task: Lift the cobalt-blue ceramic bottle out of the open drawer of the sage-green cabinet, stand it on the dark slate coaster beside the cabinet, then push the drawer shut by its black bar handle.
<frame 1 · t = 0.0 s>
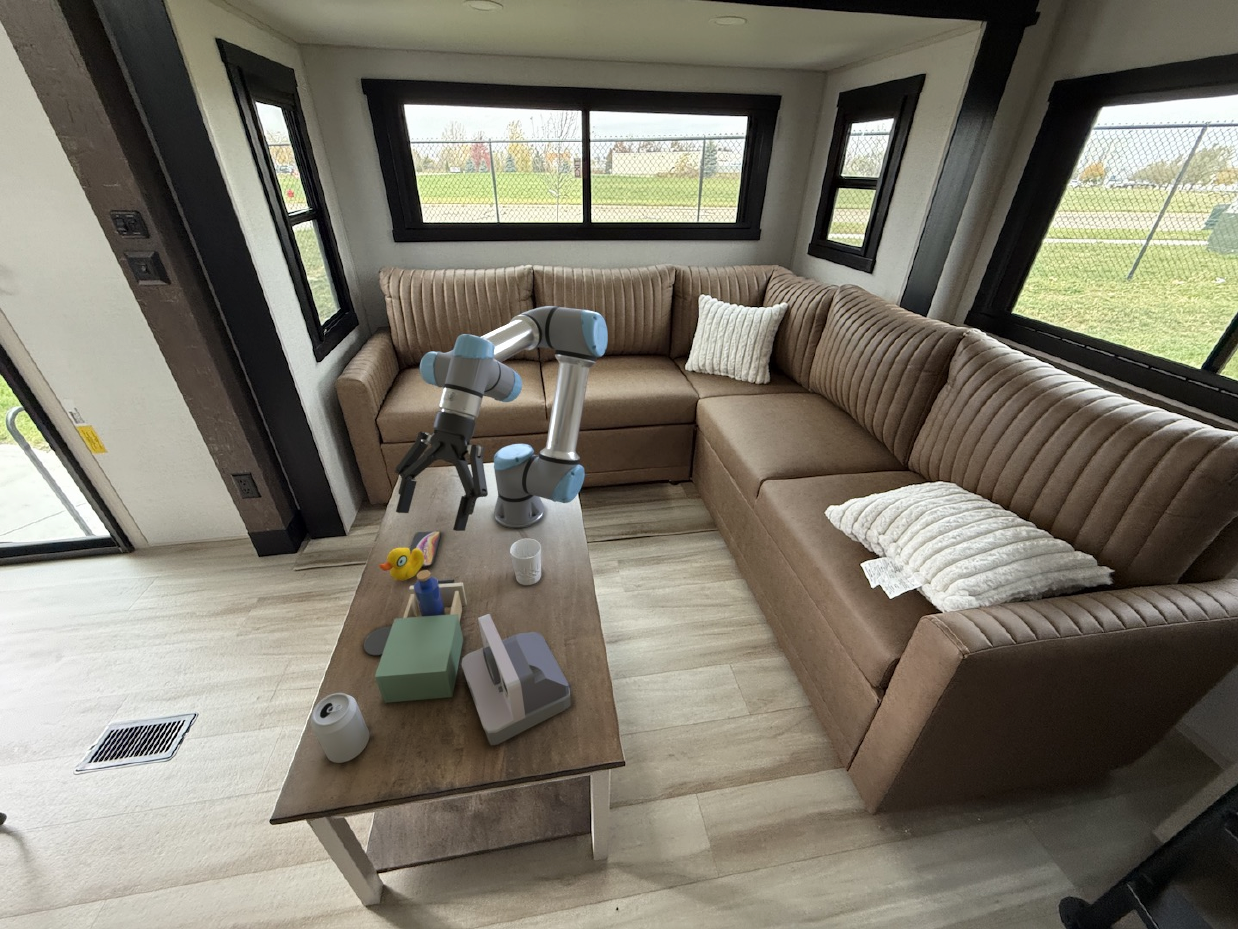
hand: (429, 521, 96), 36 cm above the table, tool tilted 35°, fingers open, 13 cm apart
can: (349, 745, 95), on the table
coaster: (383, 641, 115), on the table
cabinet: (426, 669, 109), on the table
drawer: (435, 608, 118), point 4 cm above the table, slide at 9.5 cm, touching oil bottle
duckling: (408, 576, 133), on the table, touching smartphone
smartphone: (424, 550, 141), on the table, touching duckling
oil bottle: (435, 621, 117), point 2 cm above the table, touching drawer
white cup: (528, 577, 133), on the table
grey stand: (518, 688, 105), on the table
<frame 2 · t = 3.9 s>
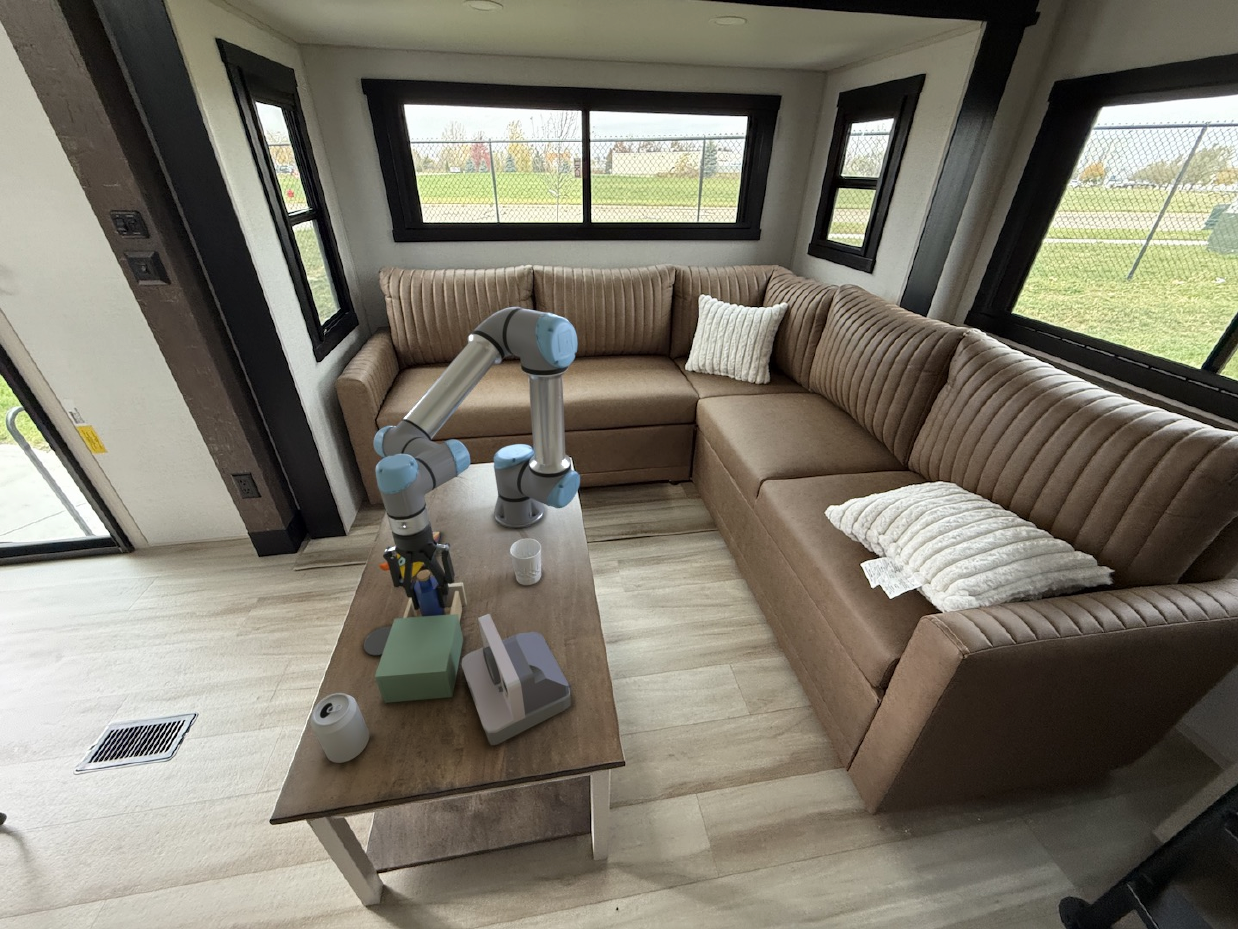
hand: (431, 604, 114), 8 cm above the table, tool pointing down, fingers closed on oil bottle, 5 cm apart
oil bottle: (435, 621, 117), point 2 cm above the table, touching drawer, gripper
everything else where it was.
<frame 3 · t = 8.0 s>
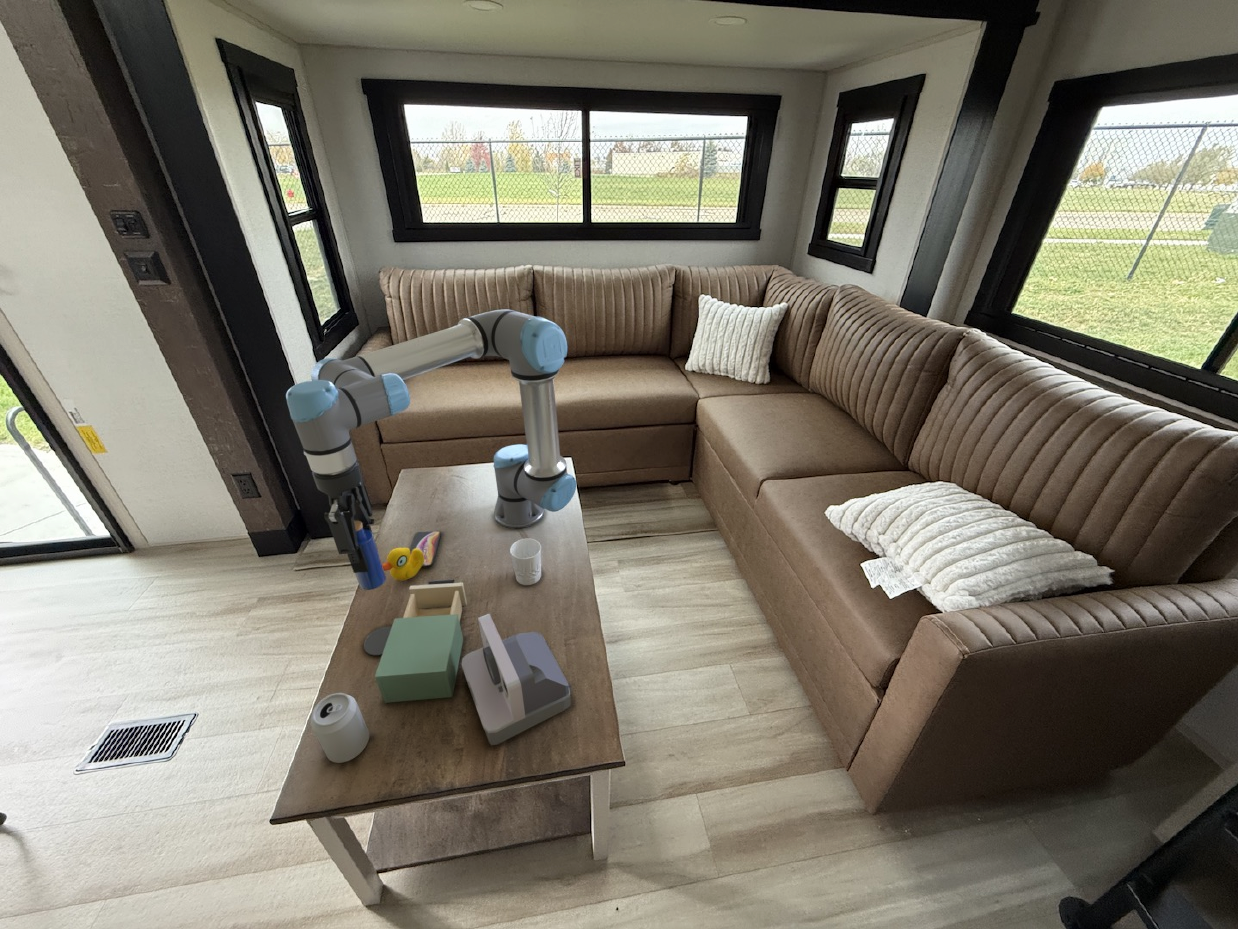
hand: (366, 560, 102), 24 cm above the table, tool pointing down, fingers closed on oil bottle, 5 cm apart
drawer: (435, 608, 118), point 4 cm above the table, slide at 9.5 cm
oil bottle: (372, 581, 105), point 19 cm above the table, touching gripper
everything else where it was.
when the fingers open (6 cm above the table, at t = 12.2 s): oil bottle stays where it is, resting on coaster.
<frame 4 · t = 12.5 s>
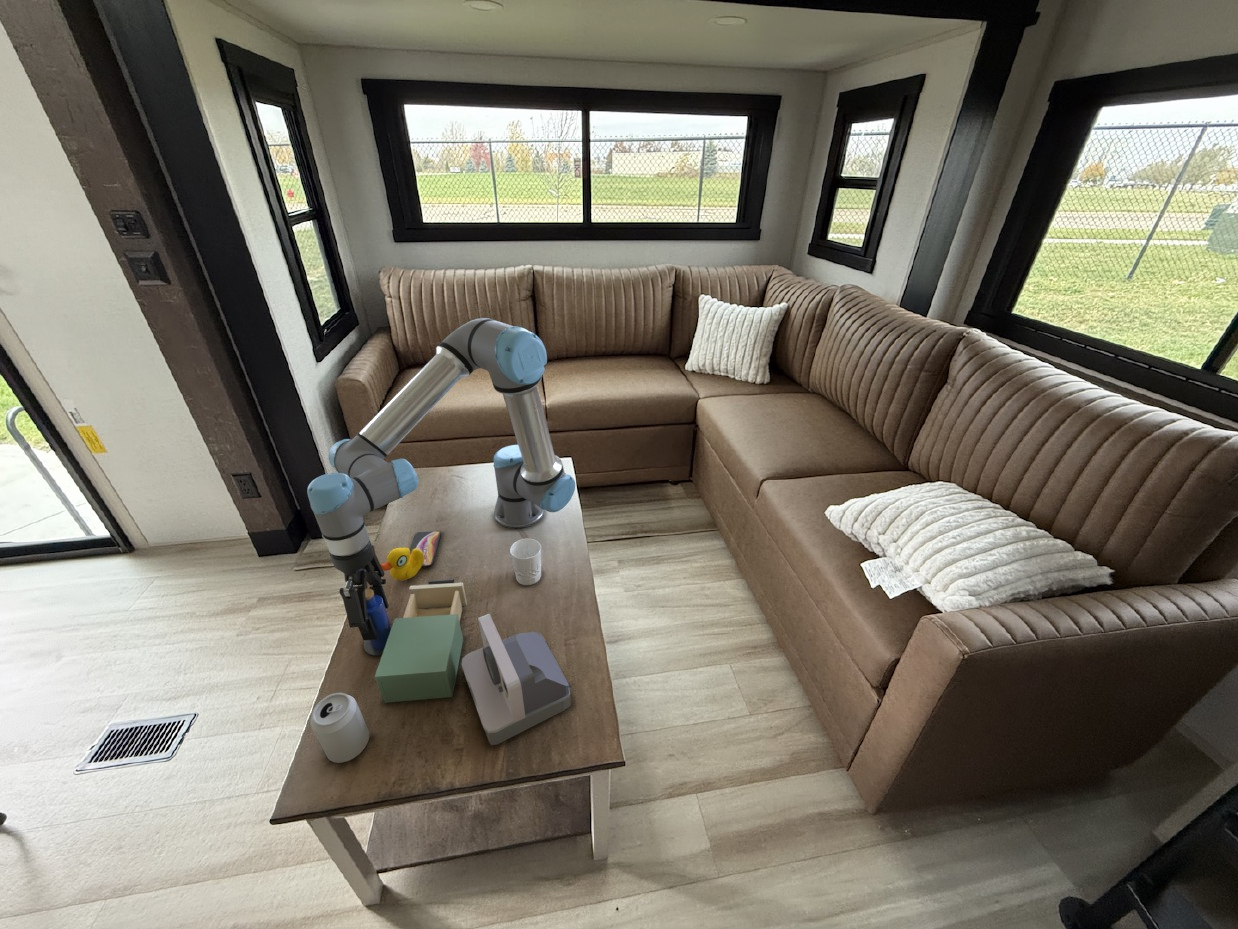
hand: (376, 622, 111), 6 cm above the table, tool pointing down, fingers open, 8 cm apart
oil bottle: (382, 640, 115), resting on coaster
everything else where it was.
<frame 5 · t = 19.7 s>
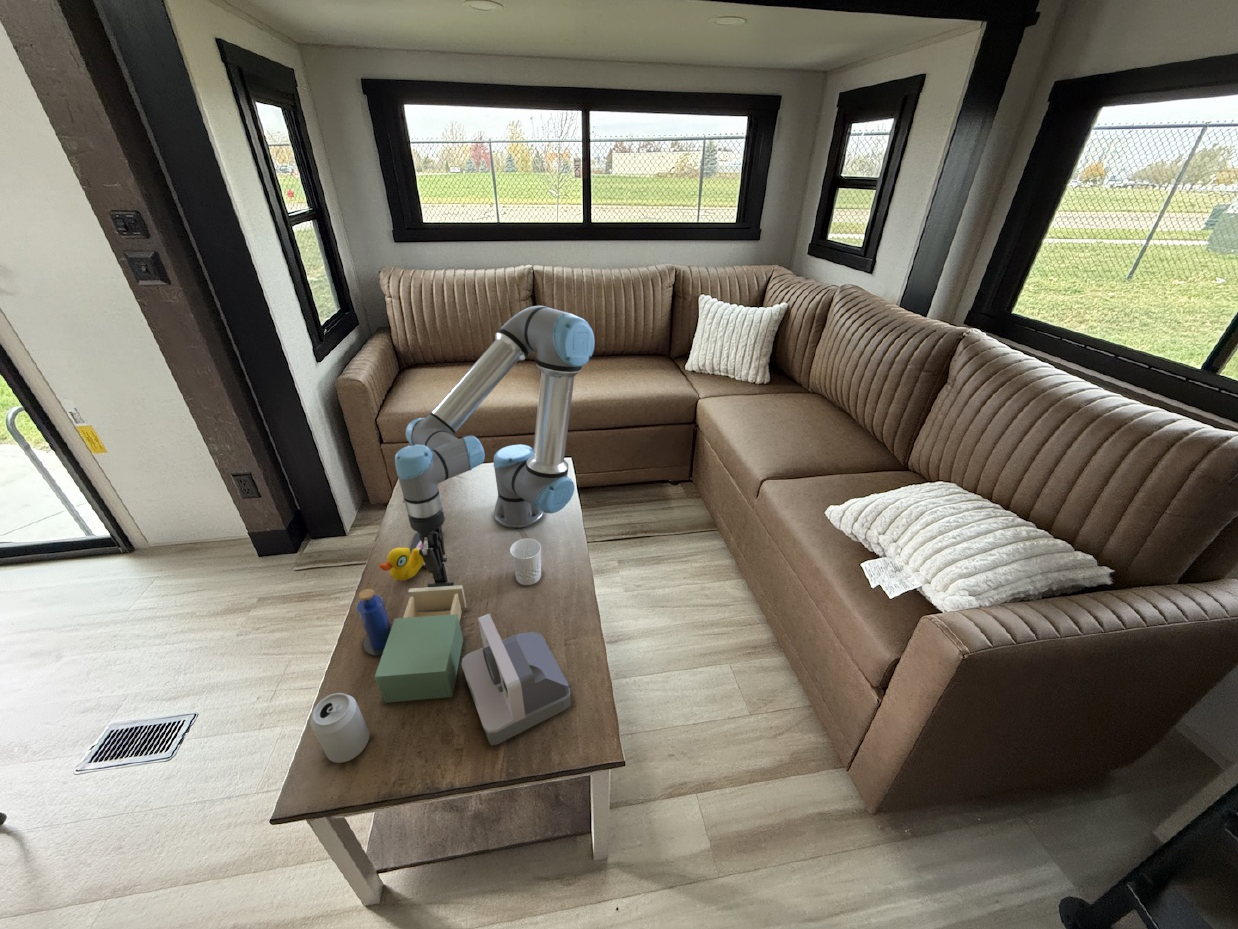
hand: (441, 584, 125), 4 cm above the table, tool pointing down, fingers closed
drawer: (434, 611, 117), point 4 cm above the table, slide at 8.6 cm, touching gripper
everything else where it was.
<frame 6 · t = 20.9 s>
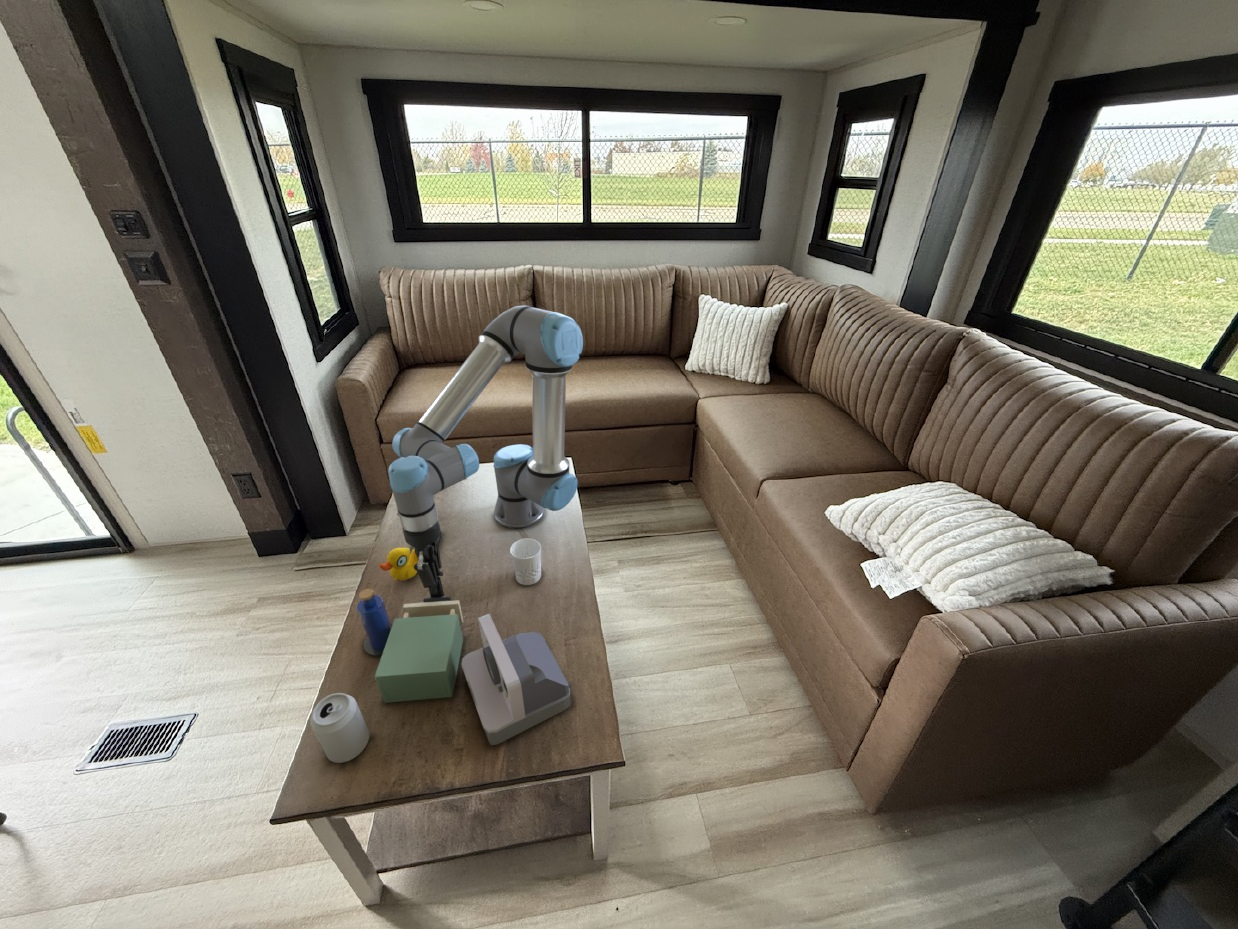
hand: (438, 598, 121), 4 cm above the table, tool pointing down, fingers closed
drawer: (430, 628, 113), point 4 cm above the table, slide at 3.8 cm, touching gripper
everything else where it was.
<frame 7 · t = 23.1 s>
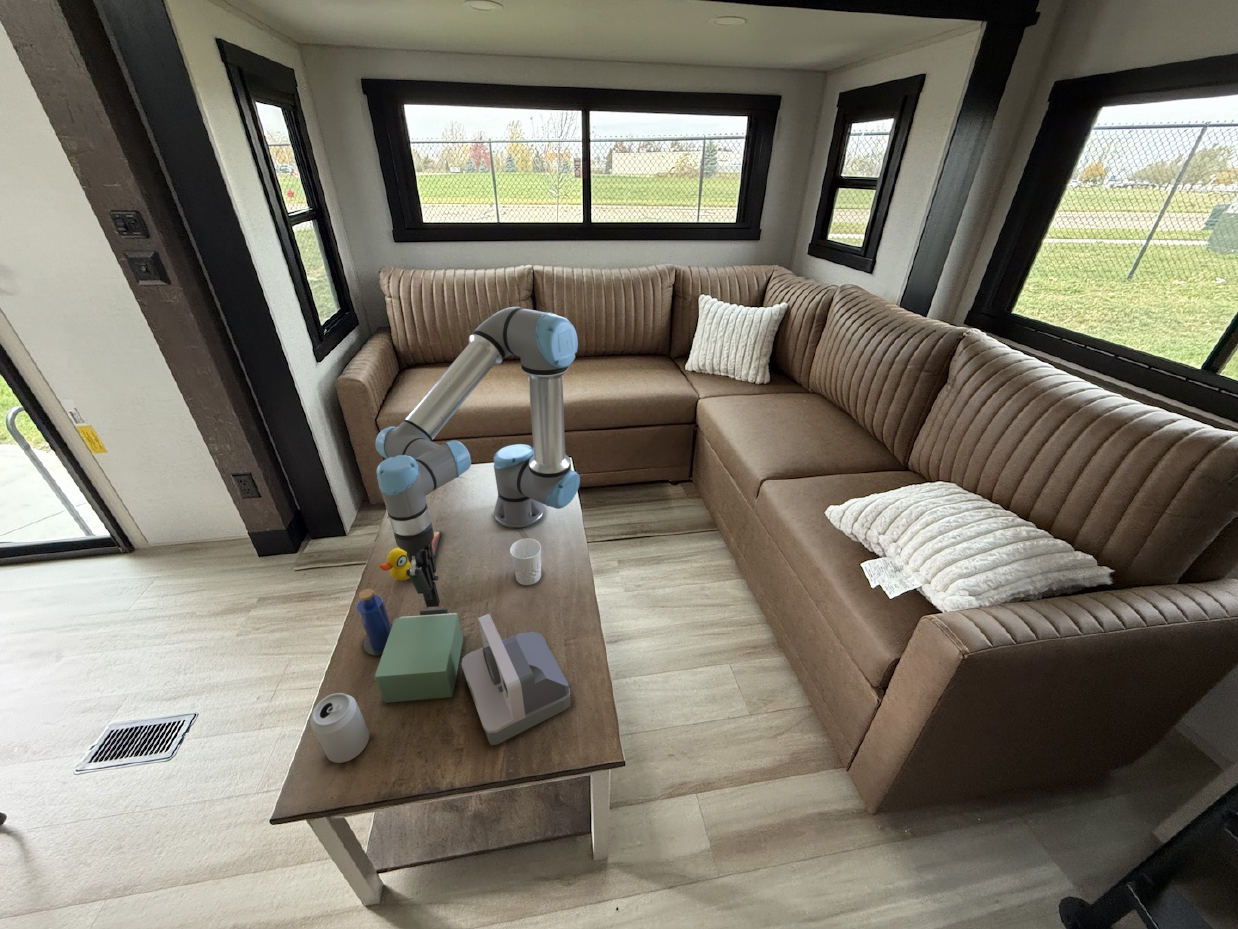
hand: (433, 604, 116), 7 cm above the table, tool pointing down, fingers closed
drawer: (426, 642, 110), point 4 cm above the table, slide at 0.0 cm, touching cabinet
everything else where it was.
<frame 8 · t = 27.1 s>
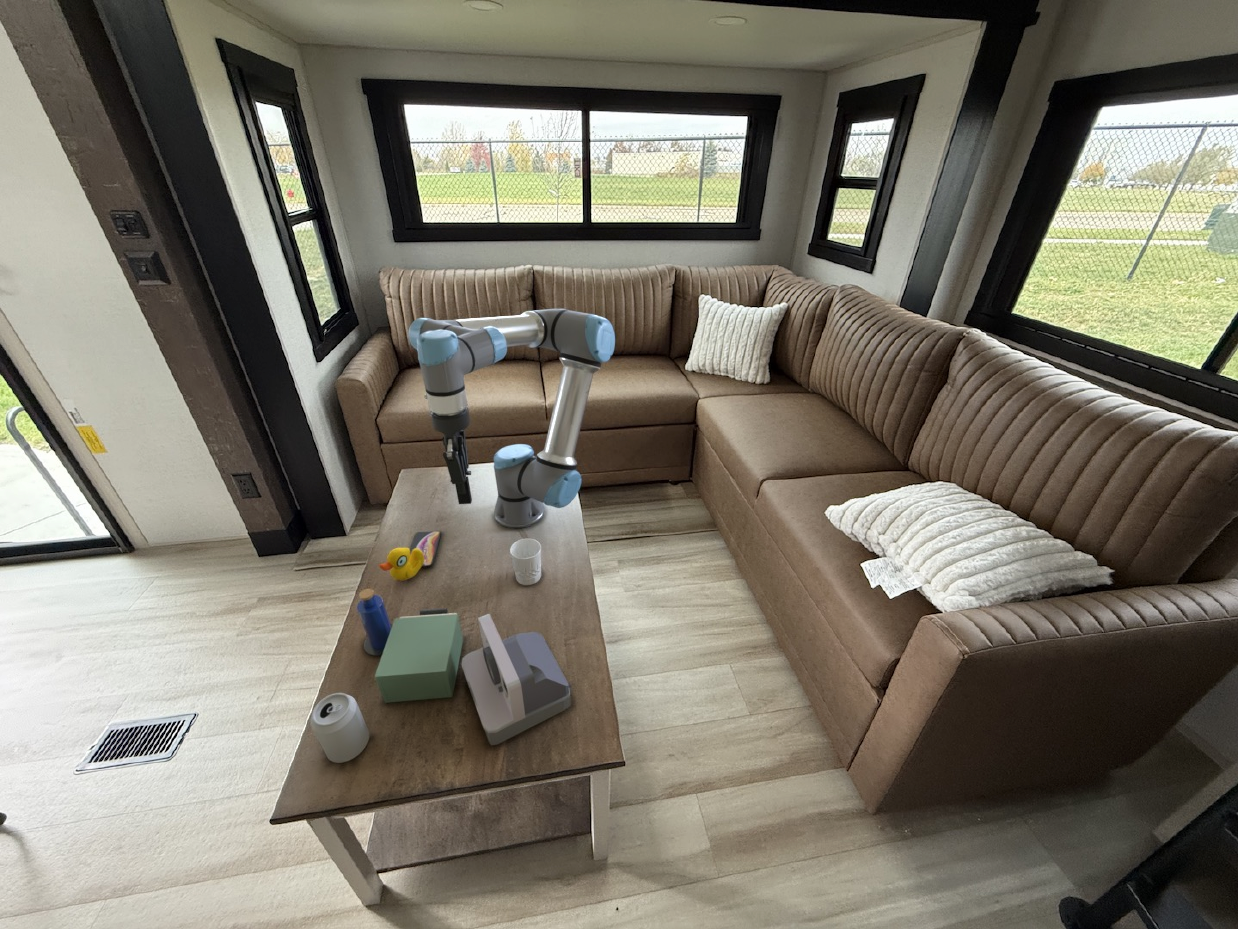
hand: (465, 502, 114), 28 cm above the table, tool pointing down, fingers closed
nothing on the table moved.
at the end: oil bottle inside the target area (0.0 cm from its centre), resting on coaster; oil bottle tilted 0°; drawer slide at 0.0 cm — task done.
